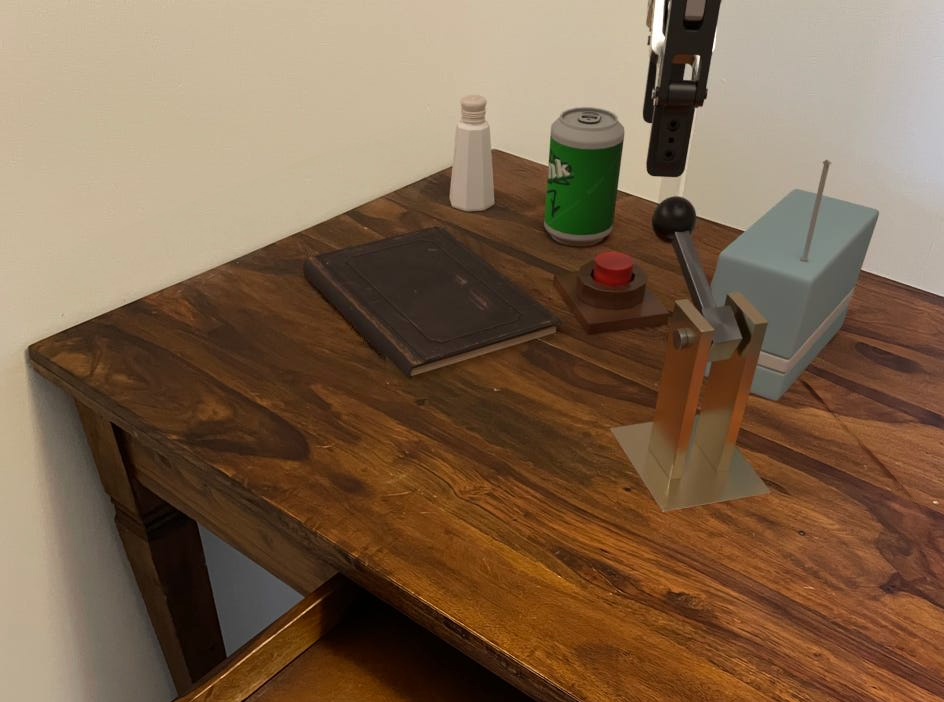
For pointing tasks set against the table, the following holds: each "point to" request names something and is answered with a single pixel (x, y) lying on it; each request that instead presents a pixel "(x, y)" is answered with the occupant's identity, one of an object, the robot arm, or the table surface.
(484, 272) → the hardcover book
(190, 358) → the table surface
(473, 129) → the pepper shaker
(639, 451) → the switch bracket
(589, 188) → the soda can
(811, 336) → the radio
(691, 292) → the switch lever
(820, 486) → the table surface
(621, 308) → the brown button base
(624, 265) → the stop button
